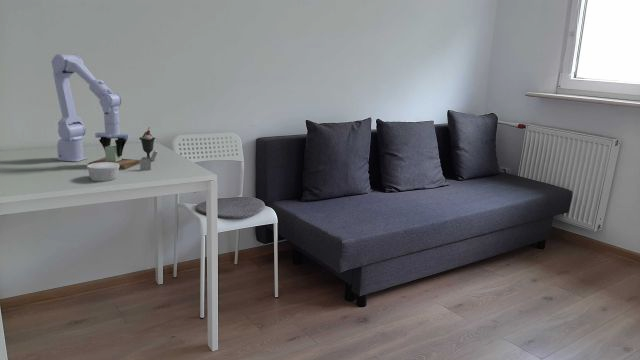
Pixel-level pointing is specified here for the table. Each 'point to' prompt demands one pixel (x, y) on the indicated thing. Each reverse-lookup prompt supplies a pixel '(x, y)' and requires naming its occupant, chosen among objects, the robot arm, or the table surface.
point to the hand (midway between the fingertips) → (114, 155)
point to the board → (120, 162)
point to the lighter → (147, 161)
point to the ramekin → (103, 171)
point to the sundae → (147, 143)
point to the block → (112, 153)
